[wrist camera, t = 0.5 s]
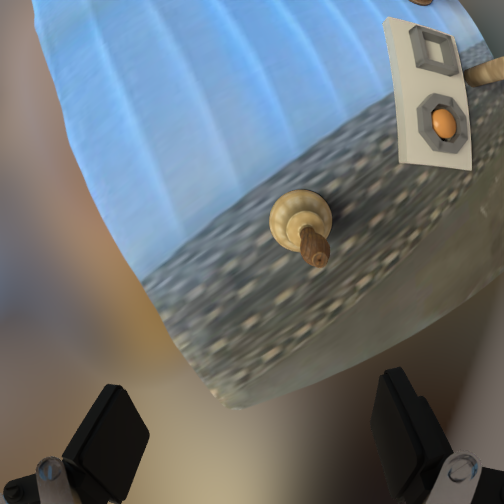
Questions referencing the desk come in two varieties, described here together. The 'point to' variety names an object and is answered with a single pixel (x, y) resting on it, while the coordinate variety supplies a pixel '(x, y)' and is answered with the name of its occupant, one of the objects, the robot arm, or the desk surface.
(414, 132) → the panel
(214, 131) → the desk surface
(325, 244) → the hand bell
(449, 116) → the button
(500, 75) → the wooden cylinder rod
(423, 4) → the gemstone
